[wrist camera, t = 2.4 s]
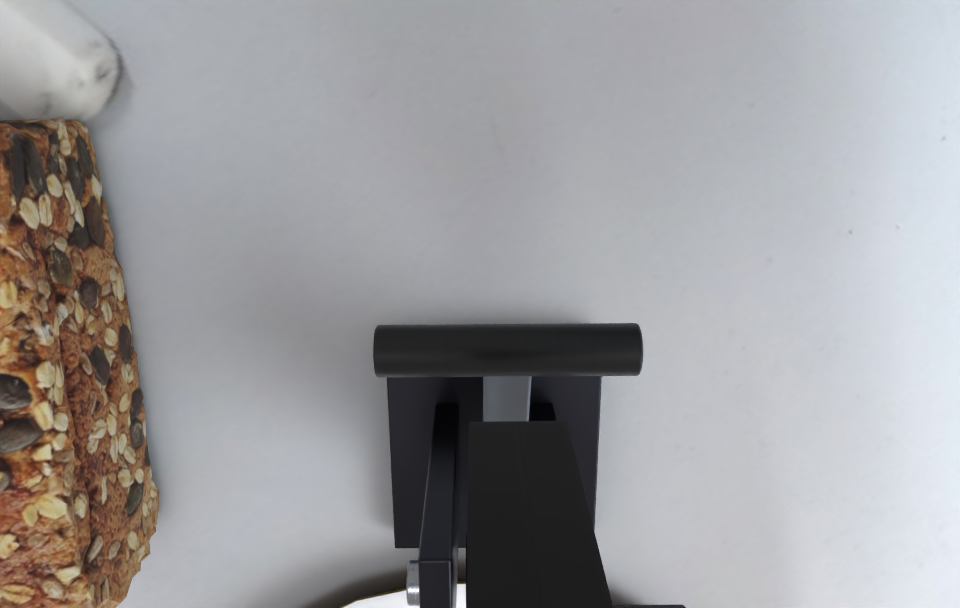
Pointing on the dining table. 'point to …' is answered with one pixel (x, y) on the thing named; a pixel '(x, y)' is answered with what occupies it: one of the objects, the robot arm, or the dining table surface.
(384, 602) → the plate
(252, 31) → the dining table surface
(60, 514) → the bread
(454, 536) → the bracket
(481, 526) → the robot arm
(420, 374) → the lever
